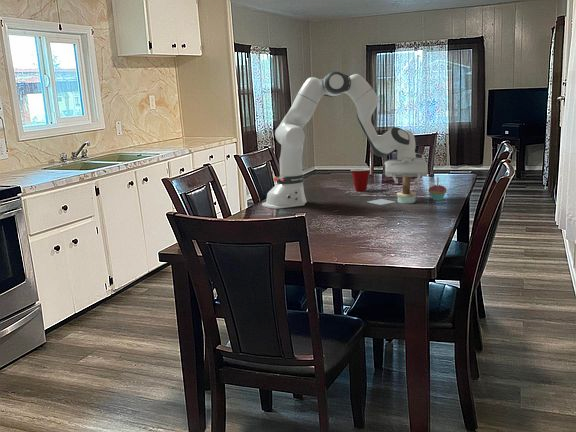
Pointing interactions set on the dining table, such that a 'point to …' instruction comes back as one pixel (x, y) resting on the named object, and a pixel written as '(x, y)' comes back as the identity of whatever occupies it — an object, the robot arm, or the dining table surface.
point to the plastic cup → (360, 178)
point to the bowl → (406, 199)
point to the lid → (406, 188)
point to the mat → (381, 201)
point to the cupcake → (437, 191)
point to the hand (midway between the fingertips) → (406, 182)
